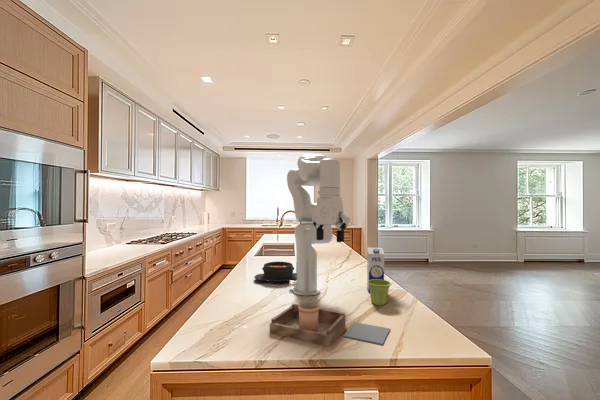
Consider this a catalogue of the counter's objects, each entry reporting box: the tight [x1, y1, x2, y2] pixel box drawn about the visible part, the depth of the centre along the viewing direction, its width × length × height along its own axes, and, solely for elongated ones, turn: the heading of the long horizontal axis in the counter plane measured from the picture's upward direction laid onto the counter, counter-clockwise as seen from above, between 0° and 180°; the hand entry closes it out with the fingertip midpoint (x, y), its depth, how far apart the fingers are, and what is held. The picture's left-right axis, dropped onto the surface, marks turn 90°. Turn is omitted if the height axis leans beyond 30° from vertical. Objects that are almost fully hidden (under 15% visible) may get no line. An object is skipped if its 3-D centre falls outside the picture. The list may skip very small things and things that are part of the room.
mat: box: [343, 321, 391, 346], centre depth 100 cm, size 12×12×1 cm
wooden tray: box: [269, 303, 346, 347], centre depth 103 cm, size 20×16×4 cm
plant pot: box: [366, 279, 392, 306], centre depth 129 cm, size 9×9×9 cm
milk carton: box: [366, 247, 385, 294], centre depth 146 cm, size 7×7×20 cm
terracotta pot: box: [297, 301, 320, 332], centre depth 103 cm, size 7×7×8 cm
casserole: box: [254, 261, 296, 284], centre depth 164 cm, size 25×19×8 cm
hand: (329, 240), depth 112 cm, fingers open, 9 cm apart
